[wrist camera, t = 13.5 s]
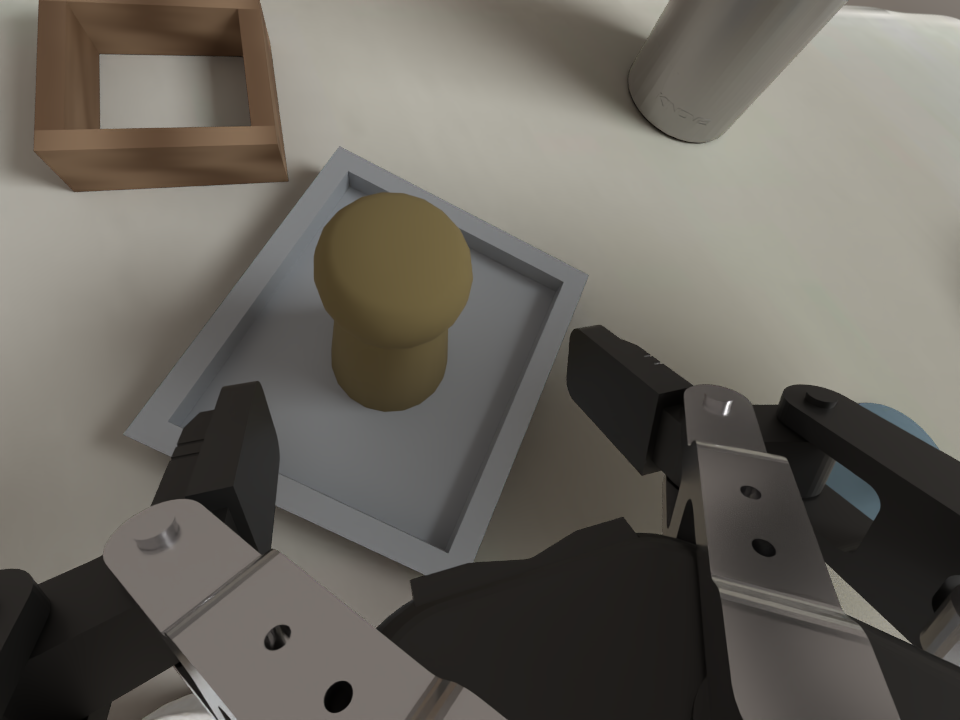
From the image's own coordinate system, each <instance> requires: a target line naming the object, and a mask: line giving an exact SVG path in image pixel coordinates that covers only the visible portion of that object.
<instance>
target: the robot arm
mask: <svg viewBox="0 0 960 720" xmlns="http://www.w3.org/2000/svg"><path fill="white" fill-rule="evenodd" d="M847 1H848V0H669V2H668V4H667V6H666V7H665V9H664V11H663V13H662V14H661V16H660V17H659V19H658V21H657V23H656V24H655V26H654V28H653V30H652V31H651V33H650V35H649V37H648V38H647V40H646V42H645V44H644V45H643V47H642V49H641V51H640V52H639V54H638V56H637V58H636V59H635V61H634V63H633V65H632V67H631V69H630V71H629V77H628V83H629V90H630V93H631V96H632V99H633V101H634V102H635V104H636V106H637V107H638V109H639V110H640V112H641V113H642V114H643V115H644V116H645V118H646V119H647V120H649V121H650V122H651V123H652V124H653V125H654V126H655V127H657V128H658V129H660V130H661V131H663V132H665V133H666V134H668V135H670V136H673V137H675V138H677V139H680V140H684V141H688V142H697V143H702V142H709V141H712V140H715V139H717V138H719V137H720V136H721V135H723V134H724V133H725V132H726V131H727V130H728V129H729V128H730V127H731V126H732V125H733V124H734V122H735V121H736V120H737V119H738V118H739V117H740V116H741V115H742V114H743V113H744V112H745V111H746V110H747V109H748V107H749V106H750V105H751V104H752V103H753V102H754V101H755V100H756V99H757V98H758V97H759V96H760V95H761V93H763V92H764V91H765V90H766V88H767V87H768V86H769V85H770V84H771V83H772V82H773V81H774V80H775V79H776V78H777V77H778V76H779V74H780V73H781V72H782V71H783V70H784V69H785V68H786V67H787V66H788V65H789V64H790V63H791V62H792V60H793V59H794V58H795V57H796V56H797V55H798V54H799V53H800V52H801V51H802V50H803V49H804V48H805V46H806V45H807V44H808V43H809V42H810V41H811V40H812V39H813V38H814V37H815V36H816V35H817V34H818V32H819V31H820V30H821V29H822V28H823V27H824V26H825V25H826V24H827V23H828V22H829V21H830V20H831V18H832V17H833V16H834V15H835V14H836V13H837V12H838V11H839V10H840V9H841V8H842V7H843V6H844V4H845V3H846V2H847ZM566 380H567V387H568V391H569V394H570V396H571V397H572V399H573V400H574V401H575V402H576V404H577V405H578V406H579V407H580V408H581V409H582V410H583V411H584V412H585V413H586V415H587V416H588V417H589V418H590V419H591V420H592V421H593V422H594V423H595V424H596V426H597V427H598V428H599V429H600V430H601V431H602V432H603V433H604V434H605V435H606V437H607V438H608V439H609V440H610V441H611V442H612V443H613V444H614V445H615V446H616V448H617V449H618V450H619V451H620V452H621V453H622V454H623V455H624V456H625V458H626V459H627V460H628V461H629V462H630V463H631V464H632V465H633V466H634V467H635V469H636V470H637V471H638V472H639V473H640V474H641V475H642V476H643V475H646V474H650V473H654V472H657V471H661V470H662V471H663V472H664V473H665V475H664V479H663V484H662V535H659V534H652V533H635V532H634V530H633V529H632V528H631V526H630V525H629V524H628V523H627V521H626V520H625V519H624V517H621V518H618V519H614V520H611V521H608V522H604V523H601V524H597V525H594V526H591V527H587V528H584V529H581V530H577V531H575V532H573V533H572V534H570V535H568V536H567V537H565V538H564V539H562V540H560V541H559V542H557V543H556V544H554V545H552V546H551V547H549V548H547V549H546V550H544V551H543V552H541V553H539V554H538V555H536V556H534V557H532V558H530V559H525V560H510V561H492V562H475V563H466V564H463V565H459V566H456V567H452V568H449V569H446V570H442V571H439V572H436V573H432V574H429V575H425V576H422V577H419V578H415V579H412V580H410V583H411V590H412V596H413V600H411V601H410V602H408V603H406V604H405V605H403V606H402V607H400V608H399V609H398V610H396V611H395V612H394V613H392V614H391V615H390V616H389V617H388V618H387V619H385V620H384V621H383V622H382V623H381V624H380V625H379V626H378V627H377V628H374V627H373V626H372V625H371V624H369V623H368V622H367V621H366V620H364V619H363V618H362V617H361V616H359V615H358V614H357V613H356V612H354V611H353V610H352V609H351V608H350V607H348V606H347V605H346V604H345V603H343V602H342V601H341V600H340V599H338V598H337V597H336V596H335V595H333V594H332V593H331V592H330V591H328V590H327V589H326V588H325V587H323V586H322V585H321V584H320V583H319V582H317V581H316V580H315V579H314V578H312V577H311V576H310V575H309V574H307V573H306V572H305V571H304V570H302V569H301V568H300V567H299V566H297V565H296V564H295V563H294V562H292V561H291V560H290V559H289V558H287V557H286V556H285V555H284V554H282V553H281V552H279V551H278V550H275V549H271V543H272V533H273V523H274V513H275V503H276V493H277V483H278V473H279V463H280V450H279V443H278V438H277V434H276V430H275V427H274V424H273V420H272V417H271V414H270V411H269V407H268V404H267V401H266V397H265V394H264V391H263V388H262V385H261V383H260V382H259V381H253V382H246V383H240V384H234V385H228V386H223V387H222V388H221V391H220V394H219V397H218V400H217V403H216V406H215V409H214V410H209V411H203V412H199V413H198V414H197V415H196V416H195V417H194V418H193V419H192V420H191V421H190V422H189V423H188V424H187V425H186V426H185V427H184V428H183V430H182V433H181V435H180V437H179V440H178V442H177V447H175V449H174V452H173V454H172V456H171V459H172V461H169V464H168V466H167V468H166V471H165V473H164V476H163V478H162V480H161V483H160V485H159V488H158V490H157V492H156V495H155V497H154V500H153V502H152V504H151V507H149V508H147V509H145V510H143V511H141V512H139V513H137V514H136V515H134V516H133V517H131V518H130V519H128V520H127V521H126V522H124V523H123V524H122V525H121V526H120V527H119V528H118V529H117V530H116V531H115V532H114V533H113V534H112V535H111V537H110V538H109V540H108V541H107V543H106V545H105V547H104V551H103V555H102V556H100V557H98V558H96V559H94V560H92V561H90V562H88V563H86V564H83V565H81V566H79V567H77V568H74V569H72V570H70V571H68V572H65V573H63V574H61V575H58V576H56V577H54V578H52V579H49V580H47V581H45V582H43V583H40V584H37V583H36V582H35V581H34V579H33V578H32V577H31V575H30V574H29V573H27V572H26V571H24V570H20V569H3V570H0V720H107V717H108V714H109V710H110V707H111V703H112V701H114V700H116V699H117V698H119V697H121V696H122V695H124V694H126V693H128V692H129V691H131V690H133V689H134V688H136V687H138V686H139V685H141V684H143V683H145V682H146V681H148V680H150V679H151V678H153V677H155V676H157V675H158V674H160V673H162V672H163V671H165V670H167V669H169V668H170V667H172V666H173V668H174V669H175V670H176V671H177V673H178V674H179V675H180V677H181V678H182V679H183V680H184V682H185V683H186V684H187V686H188V687H189V688H190V689H191V691H192V692H193V693H194V695H195V696H196V697H197V698H198V700H199V701H200V702H201V704H202V705H203V706H204V708H205V709H206V710H207V711H208V713H209V714H210V715H211V717H212V718H213V719H214V720H960V462H959V461H958V460H956V459H954V458H952V457H951V456H949V455H947V454H945V453H944V452H942V451H940V450H938V449H937V448H935V447H933V446H931V445H929V444H928V443H926V442H924V441H922V440H921V439H919V438H917V437H915V436H914V435H912V434H910V433H908V432H907V431H905V430H903V429H901V428H900V427H898V426H896V425H894V424H893V423H891V422H889V421H887V420H886V419H884V418H882V417H880V416H878V415H877V414H875V413H873V412H871V411H870V410H868V409H866V408H864V407H863V406H861V405H859V404H857V403H856V402H854V401H852V400H850V399H849V398H847V397H845V396H843V395H841V394H839V393H837V392H834V391H832V390H829V389H826V388H822V387H818V386H812V385H792V386H789V387H787V388H785V389H784V391H783V394H782V396H781V399H780V402H779V404H778V405H752V404H751V402H750V401H749V400H748V399H747V398H746V397H744V396H743V395H742V394H740V393H738V392H736V391H734V390H731V389H728V388H725V387H722V386H717V385H709V384H702V385H695V386H693V385H692V384H691V383H689V382H688V381H686V380H685V379H684V378H682V377H681V376H679V375H678V374H677V373H675V372H674V371H672V370H671V369H670V368H668V367H667V366H665V365H664V364H660V361H658V360H657V359H656V358H654V357H653V356H651V357H650V354H649V353H647V352H646V351H644V350H643V349H642V348H640V347H639V346H637V345H635V344H632V343H630V342H627V341H625V340H622V339H620V338H618V337H617V336H616V335H614V334H613V333H611V332H610V331H609V330H607V329H606V328H605V327H603V326H602V325H596V326H589V327H583V328H577V329H574V330H573V331H572V333H571V335H570V343H569V354H568V366H567V379H566ZM836 461H837V462H838V463H840V464H841V465H842V466H844V467H845V468H847V469H848V470H849V471H851V472H852V473H854V474H855V475H856V476H858V477H859V478H861V479H862V480H864V481H865V482H866V483H868V484H869V485H870V486H871V487H872V488H873V489H874V490H875V491H876V493H877V495H878V497H879V499H880V510H879V512H878V514H877V516H876V518H875V519H874V521H873V520H872V519H870V518H869V517H868V516H866V515H865V514H864V513H863V512H861V511H860V510H859V509H857V508H856V507H855V506H854V505H852V504H851V503H850V502H848V501H847V500H846V499H844V498H843V497H842V496H841V495H839V494H838V493H837V492H835V491H834V490H833V489H832V488H830V487H829V486H828V485H826V481H827V479H828V477H829V475H830V473H831V471H832V469H833V467H834V465H835V463H836ZM825 562H826V563H827V564H828V565H829V566H830V567H831V568H832V569H833V570H834V571H835V572H836V573H837V574H838V575H839V576H840V577H842V578H843V579H844V580H845V581H846V582H847V583H848V584H849V585H850V586H851V587H852V588H853V589H854V590H855V591H856V592H857V593H859V594H860V595H861V596H862V597H863V598H864V599H865V600H866V601H867V602H868V603H869V604H870V605H871V606H872V607H873V608H874V609H876V610H877V611H878V612H879V613H880V614H881V615H882V616H883V617H884V618H885V619H886V620H887V621H888V622H889V623H890V624H892V625H893V626H894V627H895V628H896V629H897V630H898V631H899V632H900V633H901V634H902V635H903V636H904V637H905V638H906V639H907V640H909V641H910V642H911V643H912V644H913V645H911V644H909V643H907V642H905V641H903V640H901V639H898V638H896V637H894V636H892V635H890V634H888V633H885V632H883V631H881V630H879V629H877V628H875V627H872V626H870V625H868V624H866V623H864V622H862V621H859V620H857V619H855V618H853V617H851V616H849V615H846V614H845V613H844V612H843V610H842V608H841V606H840V603H839V600H838V598H837V595H836V592H835V589H834V586H833V584H832V581H831V578H830V575H829V573H828V570H827V567H826V564H825Z"/></svg>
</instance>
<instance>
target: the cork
mask: <svg viewBox="0 0 960 720" xmlns="http://www.w3.org/2000/svg"><path fill="white" fill-rule="evenodd" d="M314 282H315V285H316V288H317V290H318V293H319V295H320V298H321V301H322V303H323V306H324V308H325V310H326V311H327V313H328V314H329V315H330V316H331V317H332V318H333V320H334V326H333V337H332V348H331V357H332V369H333V372H334V374H335V377H336V380H337V382H338V384H339V385H340V387H341V388H342V389H343V390H344V391H345V393H346V394H347V395H348V396H349V397H350V398H351V399H353V400H354V401H356V402H358V403H359V404H361V405H363V406H364V407H366V408H370V409H374V410H378V411H382V412H391V411H404V410H406V409H409V408H411V407H414V406H416V405H419V404H421V403H422V402H423V401H425V400H426V399H427V398H428V397H429V396H431V395H432V394H433V393H434V392H435V391H436V389H437V387H438V386H439V384H440V383H441V381H442V379H443V378H444V374H445V369H446V365H447V357H448V328H450V327H451V326H452V325H453V324H454V323H455V321H456V320H457V318H458V317H459V315H460V314H461V312H462V311H463V309H464V308H465V306H466V303H467V301H468V299H469V294H470V290H471V286H472V282H473V273H472V264H471V255H470V249H469V247H468V245H467V243H466V241H465V238H464V236H463V234H462V232H461V230H460V229H459V228H458V227H457V226H456V225H455V224H454V223H453V221H452V220H451V219H450V218H449V217H448V216H447V215H446V214H445V213H444V212H443V211H442V210H441V209H439V208H437V207H436V206H434V205H433V204H431V203H429V202H428V201H426V200H425V199H421V198H418V197H415V196H412V195H408V194H405V193H390V192H381V193H377V194H372V195H368V196H364V197H361V198H359V199H357V200H355V201H354V202H352V203H350V204H349V205H347V206H345V207H343V208H342V209H340V210H339V211H338V212H337V213H336V214H335V215H334V216H333V217H332V218H331V220H330V221H329V222H328V223H327V224H326V225H325V226H324V227H323V230H322V233H321V235H320V238H319V240H318V243H317V246H316V248H315V253H314Z"/></svg>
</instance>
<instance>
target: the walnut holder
mask: <svg viewBox="0 0 960 720" xmlns="http://www.w3.org/2000/svg"><path fill="white" fill-rule="evenodd" d="M99 54H148V55H205V56H243V58H244V67H245V76H246V85H247V94H248V102H249V111H250V120H251V126H237V127H184V128H132V129H100V88H99ZM34 152H35V153H36V154H37V155H38V156H39V157H40V158H41V159H42V160H43V161H44V162H45V163H46V164H47V165H48V166H49V167H50V168H51V169H52V170H53V171H54V172H55V173H56V174H57V175H58V176H59V177H60V178H61V179H62V180H63V181H64V182H65V183H66V184H67V185H68V186H69V187H70V188H71V189H72V190H73V191H74V192H80V191H101V190H121V189H141V188H162V187H182V186H203V185H223V184H243V183H264V182H284V181H288V173H287V166H286V158H285V151H284V143H283V136H282V128H281V121H280V113H279V106H278V98H277V91H276V83H275V76H274V68H273V61H272V54H271V46H270V40H269V36H268V32H267V28H266V24H265V20H264V16H263V12H262V8H261V4H260V0H39V9H38V39H37V68H36V97H35V127H34Z"/></svg>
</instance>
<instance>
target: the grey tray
mask: <svg viewBox="0 0 960 720" xmlns="http://www.w3.org/2000/svg"><path fill="white" fill-rule="evenodd" d="M381 192H390V193H405V194H408V195H412V196H415V197H418V198H421V199H425V200H426V201H428V202H429V203H431V204H433V205H434V206H436V207H437V208H439V209H441V210H442V211H443V212H444V213H445V214H446V215H447V216H448V217H449V218H450V219H451V220H452V221H453V223H454V224H455V225H456V226H457V227H458V228H459V229H460V230H461V232H462V234H463V236H464V238H465V241H466V243H467V245H468V247H469V249H470V255H471V264H472V273H473V282H472V286H471V290H470V294H469V299H468V301H467V303H466V306H465V308H464V309H463V311H462V312H461V314H460V315H459V317H458V318H457V320H456V321H455V323H454V324H453V325H452V326H451V327H450V328H448V357H447V365H446V369H445V374H444V378H443V379H442V381H441V383H440V384H439V386H438V387H437V389H436V391H435V392H434V393H433V394H432V395H431V396H429V397H428V398H427V399H426V400H425V401H423V402H422V403H421V404H419V405H416V406H414V407H411V408H409V409H406V410H404V411H391V412H382V411H378V410H374V409H370V408H366V407H364V406H363V405H361V404H359V403H358V402H356V401H354V400H353V399H351V398H350V397H349V396H348V395H347V394H346V393H345V391H344V390H343V389H342V388H341V387H340V385H339V384H338V382H337V380H336V377H335V374H334V372H333V369H332V357H331V348H332V337H333V326H334V320H333V318H332V317H331V316H330V315H329V314H328V313H327V311H326V310H325V308H324V306H323V303H322V301H321V298H320V295H319V293H318V290H317V288H316V285H315V282H314V253H315V248H316V246H317V243H318V240H319V238H320V235H321V233H322V230H323V227H324V226H325V225H326V224H327V223H328V222H329V221H330V220H331V218H332V217H333V216H334V215H335V214H336V213H337V212H338V211H339V210H340V209H342V208H343V207H345V206H347V205H349V204H350V203H352V202H354V201H355V200H357V199H359V198H361V197H364V196H368V195H372V194H377V193H381ZM588 276H589V275H588V274H586V273H584V272H582V271H580V270H578V269H576V268H574V267H572V266H570V265H568V264H566V263H564V262H562V261H561V260H559V259H557V258H555V257H553V256H551V255H549V254H547V253H545V252H543V251H541V250H539V249H537V248H535V247H533V246H532V245H530V244H528V243H526V242H524V241H522V240H520V239H518V238H516V237H514V236H512V235H510V234H508V233H506V232H504V231H503V230H501V229H499V228H497V227H495V226H493V225H491V224H489V223H487V222H485V221H483V220H481V219H479V218H477V217H475V216H474V215H472V214H470V213H468V212H466V211H464V210H462V209H460V208H458V207H456V206H454V205H452V204H450V203H448V202H446V201H445V200H443V199H441V198H439V197H437V196H435V195H433V194H431V193H429V192H427V191H425V190H423V189H421V188H419V187H417V186H416V185H414V184H412V183H410V182H408V181H406V180H404V179H402V178H400V177H398V176H396V175H394V174H392V173H390V172H388V171H387V170H385V169H383V168H381V167H379V166H377V165H375V164H373V163H371V162H369V161H367V160H365V159H363V158H361V157H359V156H357V155H356V154H354V153H352V152H350V151H348V150H346V149H344V148H342V147H340V146H339V148H338V149H337V150H336V152H335V153H334V154H333V156H332V157H331V158H330V160H329V161H328V162H327V164H326V165H325V166H324V168H323V169H322V170H321V172H320V173H319V174H318V176H317V177H316V178H315V180H314V181H313V182H312V184H311V185H310V186H309V188H308V189H307V190H306V192H305V193H304V194H303V196H302V197H301V198H300V200H299V201H298V202H297V204H296V205H295V206H294V208H293V209H292V210H291V211H290V213H289V214H288V215H287V217H286V218H285V219H284V221H283V222H282V223H281V225H280V226H279V227H278V229H277V230H276V231H275V233H274V234H273V235H272V237H271V238H270V239H269V241H268V242H267V243H266V245H265V246H264V247H263V249H262V250H261V251H260V253H259V254H258V255H257V257H256V258H255V259H254V261H253V262H252V263H251V265H250V266H249V267H248V269H247V270H246V271H245V273H244V274H243V275H242V277H241V278H240V279H239V281H238V282H237V283H236V285H235V286H234V287H233V289H232V290H231V291H230V293H229V294H228V295H227V297H226V298H225V299H224V301H223V302H222V303H221V305H220V306H219V307H218V309H217V310H216V311H215V313H214V314H213V315H212V317H211V318H210V319H209V321H208V322H207V323H206V325H205V326H204V327H203V329H202V330H201V331H200V333H199V334H198V335H197V337H196V338H195V339H194V341H193V342H192V343H191V345H190V346H189V347H188V349H187V350H186V351H185V353H184V354H183V355H182V357H181V358H180V359H179V361H178V362H177V363H176V365H175V366H174V367H173V369H172V370H171V371H170V373H169V374H168V375H167V376H166V378H165V379H164V380H163V382H162V383H161V384H160V386H159V387H158V388H157V390H156V391H155V392H154V394H153V395H152V396H151V398H150V399H149V400H148V402H147V403H146V404H145V406H144V407H143V408H142V410H141V411H140V412H139V414H138V415H137V416H136V418H135V419H134V420H133V422H132V423H131V424H130V426H129V427H128V428H127V430H126V431H125V432H124V434H123V435H125V436H127V437H129V438H131V439H134V440H136V441H138V442H140V443H142V444H144V445H146V446H149V447H151V448H153V449H155V450H157V451H159V452H161V453H164V454H166V455H168V456H170V457H171V456H172V454H173V452H174V449H175V447H177V442H178V440H179V437H180V435H181V433H182V430H183V428H184V427H185V426H186V425H187V424H188V423H189V422H190V421H191V420H192V419H193V418H194V417H195V416H196V415H197V414H198V413H199V412H203V411H209V410H214V409H215V406H216V403H217V400H218V397H219V394H220V391H221V388H222V387H223V386H228V385H234V384H240V383H246V382H253V381H259V382H260V383H261V385H262V388H263V391H264V394H265V397H266V401H267V404H268V407H269V411H270V414H271V417H272V420H273V424H274V427H275V430H276V434H277V438H278V443H279V450H280V463H279V473H278V483H277V493H276V503H275V506H278V507H280V508H282V509H284V510H286V511H288V512H291V513H293V514H295V515H297V516H299V517H301V518H303V519H306V520H308V521H310V522H312V523H314V524H316V525H319V526H321V527H323V528H325V529H327V530H329V531H331V532H334V533H336V534H338V535H340V536H342V537H344V538H346V539H349V540H351V541H353V542H355V543H357V544H359V545H362V546H364V547H366V548H368V549H370V550H372V551H374V552H377V553H379V554H381V555H383V556H385V557H387V558H390V559H392V560H394V561H396V562H398V563H400V564H402V565H405V566H407V567H409V568H411V569H413V570H415V571H417V572H420V573H422V574H424V575H429V574H432V573H436V572H439V571H442V570H446V569H449V568H452V567H456V566H459V565H463V564H466V563H473V562H474V559H475V557H476V554H477V552H478V549H479V547H480V544H481V542H482V539H483V537H484V534H485V532H486V529H487V527H488V524H489V522H490V520H491V517H492V515H493V512H494V510H495V507H496V505H497V502H498V500H499V497H500V495H501V492H502V490H503V487H504V485H505V482H506V480H507V477H508V475H509V472H510V470H511V467H512V465H513V462H514V460H515V457H516V455H517V452H518V450H519V448H520V445H521V443H522V440H523V438H524V435H525V433H526V430H527V428H528V425H529V423H530V420H531V418H532V415H533V413H534V410H535V408H536V405H537V403H538V400H539V398H540V395H541V393H542V390H543V388H544V385H545V383H546V381H547V378H548V376H549V373H550V371H551V368H552V366H553V363H554V361H555V358H556V356H557V353H558V351H559V348H560V346H561V343H562V341H563V338H564V336H565V333H566V331H567V328H568V326H569V323H570V321H571V318H572V316H573V314H574V311H575V309H576V306H577V304H578V301H579V299H580V296H581V294H582V291H583V289H584V286H585V284H586V281H587V279H588Z"/></svg>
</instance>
